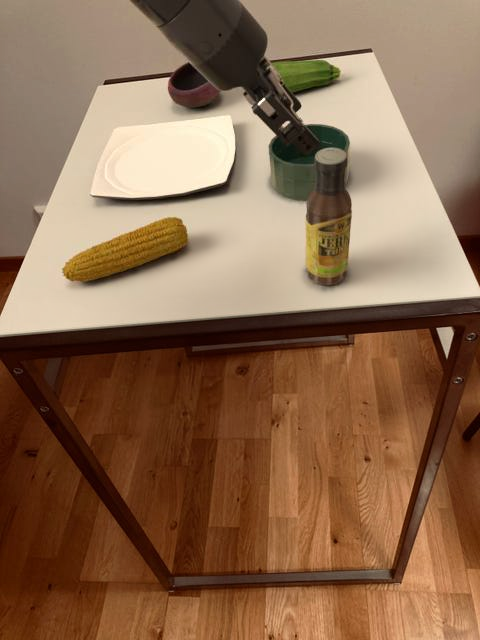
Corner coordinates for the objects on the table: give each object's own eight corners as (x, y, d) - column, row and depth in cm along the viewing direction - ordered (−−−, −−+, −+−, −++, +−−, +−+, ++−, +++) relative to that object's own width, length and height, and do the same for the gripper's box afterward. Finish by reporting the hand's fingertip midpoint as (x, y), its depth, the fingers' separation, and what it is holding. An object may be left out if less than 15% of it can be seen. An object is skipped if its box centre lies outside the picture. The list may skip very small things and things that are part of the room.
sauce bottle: (319, 293, 75) (318, 175, 60) (298, 269, 79) (293, 153, 64) (356, 277, 76) (364, 158, 61) (334, 254, 80) (337, 137, 65)
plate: (238, 122, 113) (236, 111, 111) (234, 198, 94) (232, 185, 92) (114, 136, 116) (110, 125, 114) (86, 211, 97) (81, 200, 95)
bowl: (230, 107, 118) (225, 72, 112) (177, 120, 117) (169, 86, 111) (214, 81, 129) (209, 48, 123) (165, 93, 128) (158, 60, 122)
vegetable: (253, 59, 114) (338, 41, 116) (252, 82, 121) (332, 65, 122) (262, 85, 112) (348, 67, 114) (260, 107, 119) (342, 90, 121)
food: (183, 234, 88) (176, 205, 84) (194, 252, 85) (187, 223, 80) (66, 277, 85) (52, 249, 80) (72, 298, 81) (58, 270, 76)
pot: (353, 159, 97) (355, 125, 92) (341, 203, 89) (342, 168, 84) (281, 156, 101) (279, 122, 96) (263, 197, 93) (259, 163, 88)
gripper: (253, 32, 45) (347, 141, 56) (227, -26, 54) (313, 78, 64) (194, 92, 48) (294, 184, 59) (178, 28, 57) (268, 119, 68)
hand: (303, 129), depth 62 cm, fingers open, 8 cm apart
